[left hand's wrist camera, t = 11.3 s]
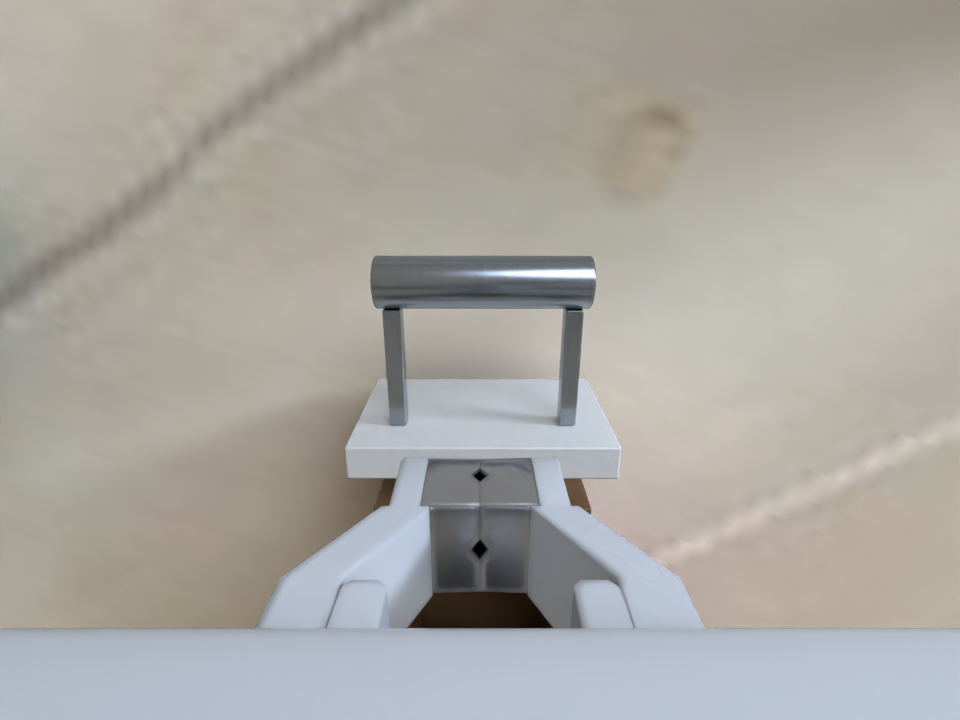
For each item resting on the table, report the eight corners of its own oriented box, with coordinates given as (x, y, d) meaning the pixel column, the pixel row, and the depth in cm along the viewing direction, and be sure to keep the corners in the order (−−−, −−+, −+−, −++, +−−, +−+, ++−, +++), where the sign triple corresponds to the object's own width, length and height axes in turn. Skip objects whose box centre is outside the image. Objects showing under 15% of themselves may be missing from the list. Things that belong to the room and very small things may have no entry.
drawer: (367, 239, 20) (324, 266, 15) (597, 239, 20) (641, 266, 15) (397, 640, 28) (376, 758, 22) (566, 640, 28) (587, 759, 22)
